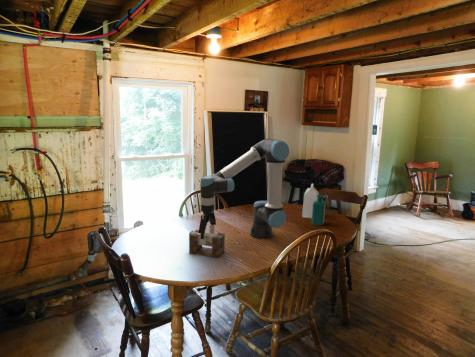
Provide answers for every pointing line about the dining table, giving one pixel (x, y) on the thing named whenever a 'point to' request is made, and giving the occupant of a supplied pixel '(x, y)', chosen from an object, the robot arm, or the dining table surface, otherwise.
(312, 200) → the milk
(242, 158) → the robot arm
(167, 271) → the dining table surface
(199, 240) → the rail
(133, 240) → the dining table surface
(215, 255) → the brown u-shaped block
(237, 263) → the dining table surface
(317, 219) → the teal green bottle
